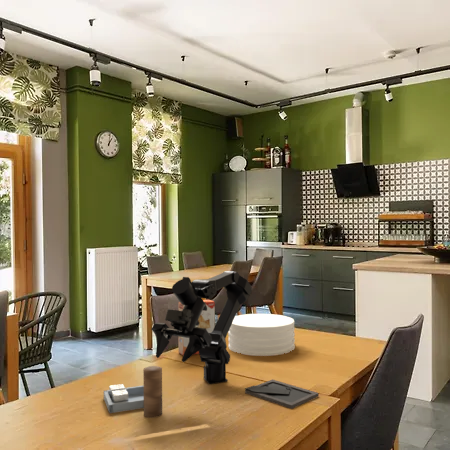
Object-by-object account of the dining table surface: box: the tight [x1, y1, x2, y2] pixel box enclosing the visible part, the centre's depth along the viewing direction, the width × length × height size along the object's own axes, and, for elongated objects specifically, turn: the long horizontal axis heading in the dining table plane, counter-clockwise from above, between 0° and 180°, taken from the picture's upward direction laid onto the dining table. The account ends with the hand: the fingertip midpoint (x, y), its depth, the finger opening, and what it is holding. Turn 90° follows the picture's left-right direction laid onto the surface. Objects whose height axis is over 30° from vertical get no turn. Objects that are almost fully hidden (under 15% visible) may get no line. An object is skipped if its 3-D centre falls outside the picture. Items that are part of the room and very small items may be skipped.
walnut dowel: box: [142, 365, 163, 418], centre depth 128 cm, size 5×5×13 cm
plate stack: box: [227, 313, 296, 357], centre depth 200 cm, size 28×28×12 cm
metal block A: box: [108, 383, 126, 401], centre depth 138 cm, size 4×4×4 cm
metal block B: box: [112, 389, 128, 403], centre depth 133 cm, size 4×4×4 cm
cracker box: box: [177, 299, 216, 356], centre depth 192 cm, size 14×6×21 cm, turn 117°
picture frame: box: [244, 379, 320, 410], centre depth 144 cm, size 13×2×18 cm
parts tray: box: [103, 384, 144, 414], centre depth 137 cm, size 14×12×3 cm
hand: (169, 359), depth 135 cm, fingers open, 9 cm apart
